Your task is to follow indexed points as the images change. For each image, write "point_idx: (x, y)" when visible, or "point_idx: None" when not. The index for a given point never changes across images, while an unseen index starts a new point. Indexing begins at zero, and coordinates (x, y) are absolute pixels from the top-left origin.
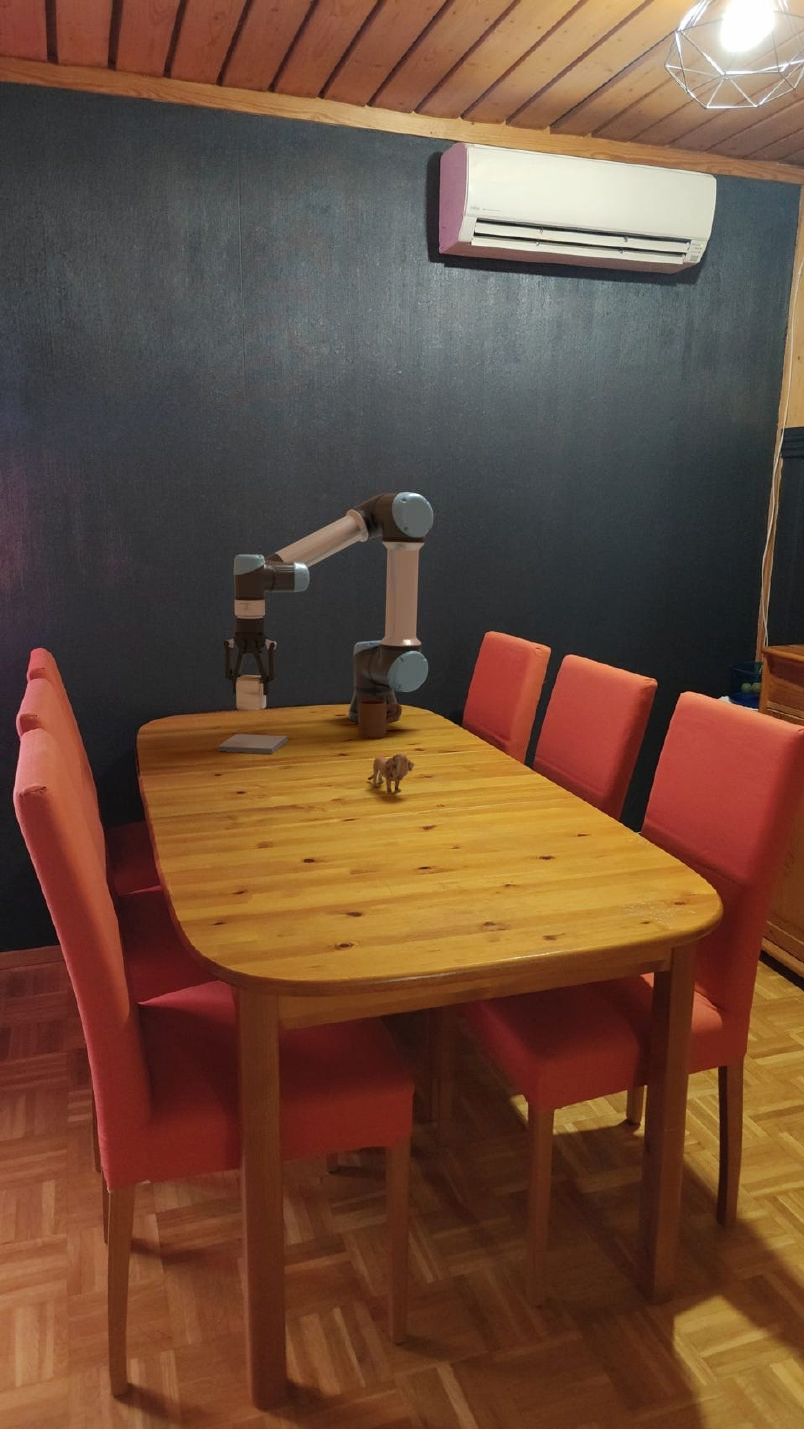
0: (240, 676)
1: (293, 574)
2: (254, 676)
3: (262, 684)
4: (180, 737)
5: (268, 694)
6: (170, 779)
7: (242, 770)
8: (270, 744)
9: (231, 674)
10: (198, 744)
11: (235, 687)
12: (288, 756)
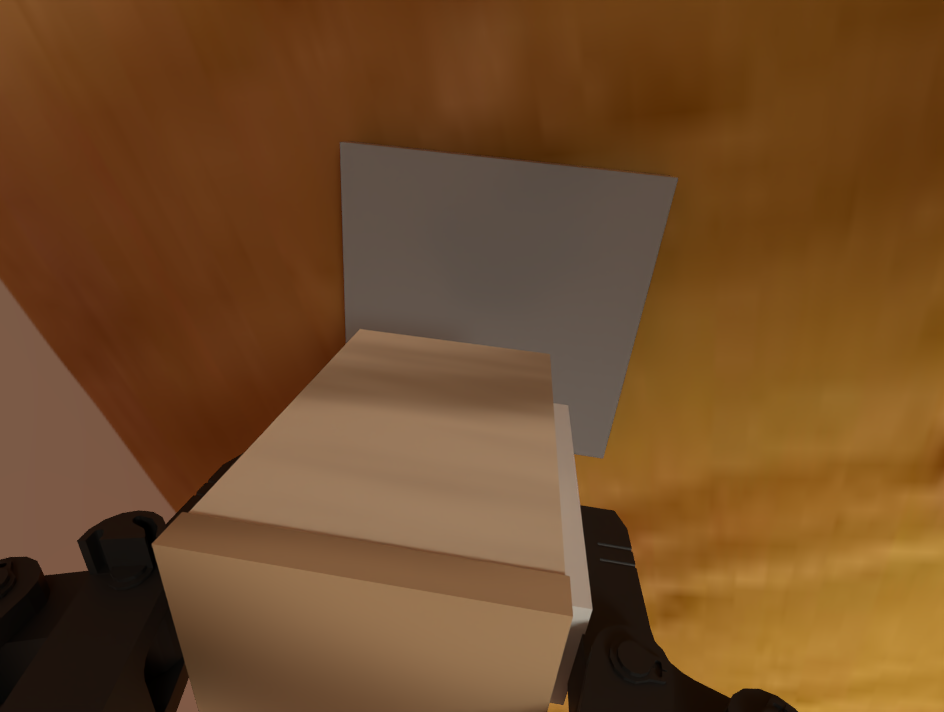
0: (187, 670)
1: None
2: (399, 673)
3: (562, 694)
4: (42, 121)
5: (613, 521)
6: None
7: None
8: (588, 386)
9: (19, 663)
10: (213, 277)
11: None
12: (679, 477)
